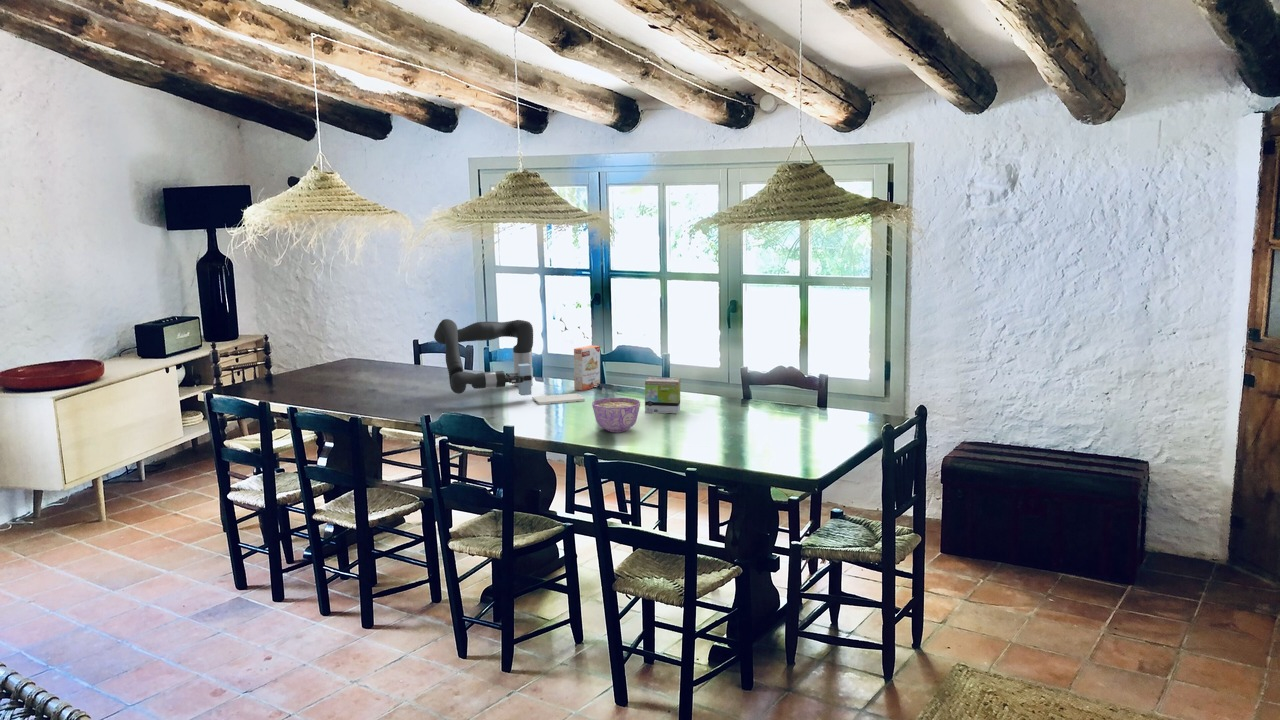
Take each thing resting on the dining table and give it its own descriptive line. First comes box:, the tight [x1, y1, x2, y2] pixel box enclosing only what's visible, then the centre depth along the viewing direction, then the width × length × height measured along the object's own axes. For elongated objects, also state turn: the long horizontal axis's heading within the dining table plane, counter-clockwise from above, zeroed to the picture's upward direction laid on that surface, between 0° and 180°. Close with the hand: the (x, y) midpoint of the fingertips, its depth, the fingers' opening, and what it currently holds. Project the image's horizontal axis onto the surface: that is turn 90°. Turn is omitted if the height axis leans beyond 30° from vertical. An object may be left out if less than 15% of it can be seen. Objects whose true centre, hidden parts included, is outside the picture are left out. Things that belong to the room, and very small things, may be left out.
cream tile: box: [531, 393, 586, 405], centre depth 466 cm, size 13×22×1 cm, turn 110°
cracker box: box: [573, 345, 601, 392], centre depth 491 cm, size 14×6×21 cm, turn 143°
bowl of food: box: [591, 397, 641, 433], centre depth 406 cm, size 20×20×12 cm
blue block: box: [517, 364, 532, 396], centre depth 464 cm, size 5×5×14 cm
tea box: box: [644, 376, 681, 414], centre depth 439 cm, size 15×10×15 cm, turn 82°
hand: (529, 376), depth 464 cm, fingers closed on blue block, 5 cm apart
